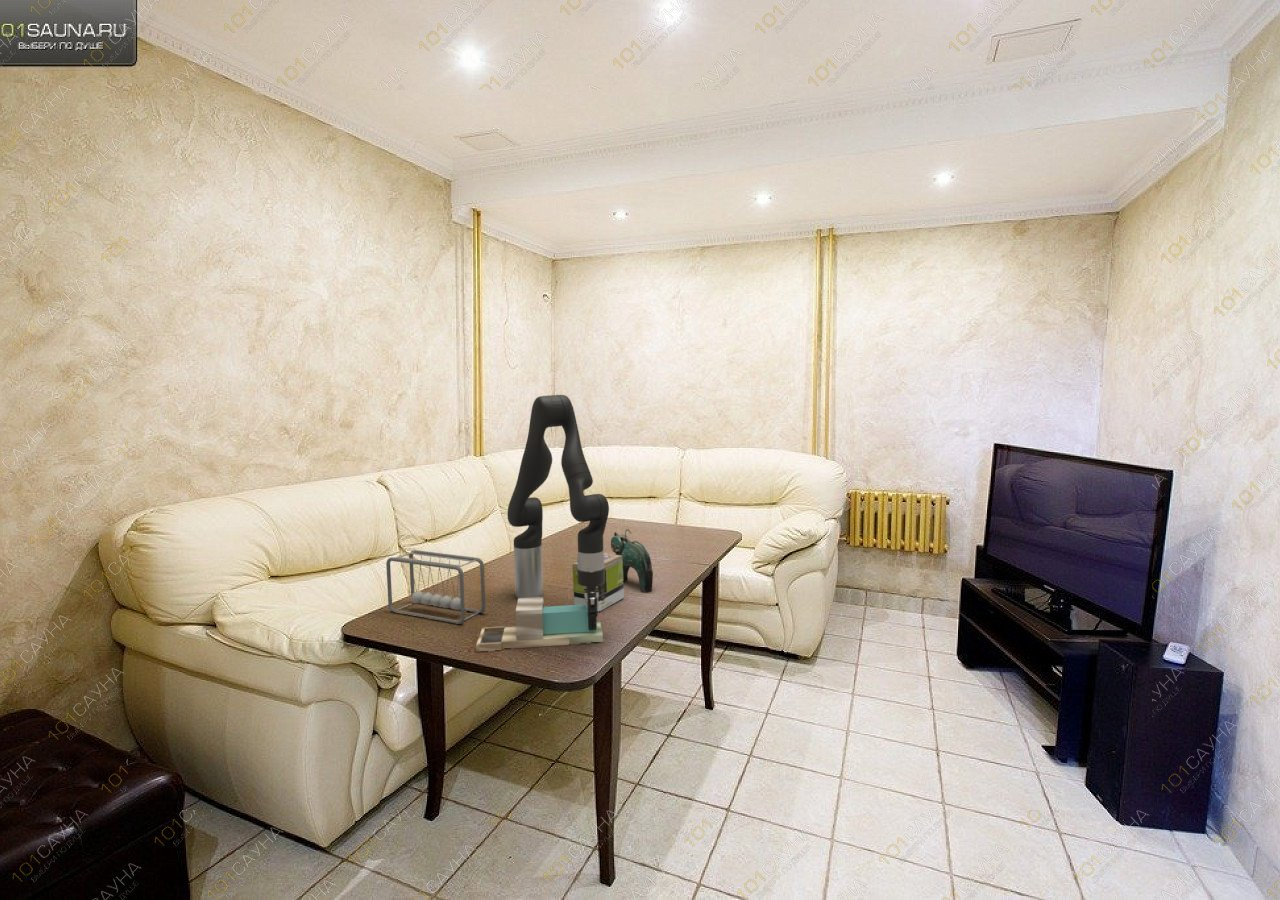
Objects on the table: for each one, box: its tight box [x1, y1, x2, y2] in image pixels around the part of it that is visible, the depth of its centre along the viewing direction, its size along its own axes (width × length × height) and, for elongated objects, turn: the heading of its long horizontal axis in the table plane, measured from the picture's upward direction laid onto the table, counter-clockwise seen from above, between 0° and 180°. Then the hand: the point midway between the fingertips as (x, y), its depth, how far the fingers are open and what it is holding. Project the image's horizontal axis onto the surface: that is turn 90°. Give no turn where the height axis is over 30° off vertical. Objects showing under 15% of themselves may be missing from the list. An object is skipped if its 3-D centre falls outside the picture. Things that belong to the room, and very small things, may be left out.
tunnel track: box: [475, 596, 604, 652], centre depth 161 cm, size 12×33×10 cm, turn 98°
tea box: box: [572, 553, 625, 613], centre depth 189 cm, size 15×10×15 cm
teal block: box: [543, 604, 598, 635], centre depth 162 cm, size 5×20×6 cm, turn 98°
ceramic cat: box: [610, 528, 654, 593], centre depth 206 cm, size 20×6×20 cm, turn 37°
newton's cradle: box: [385, 549, 486, 625], centre depth 181 cm, size 30×10×18 cm, turn 66°
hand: (591, 625), depth 163 cm, fingers closed on teal block, 5 cm apart
